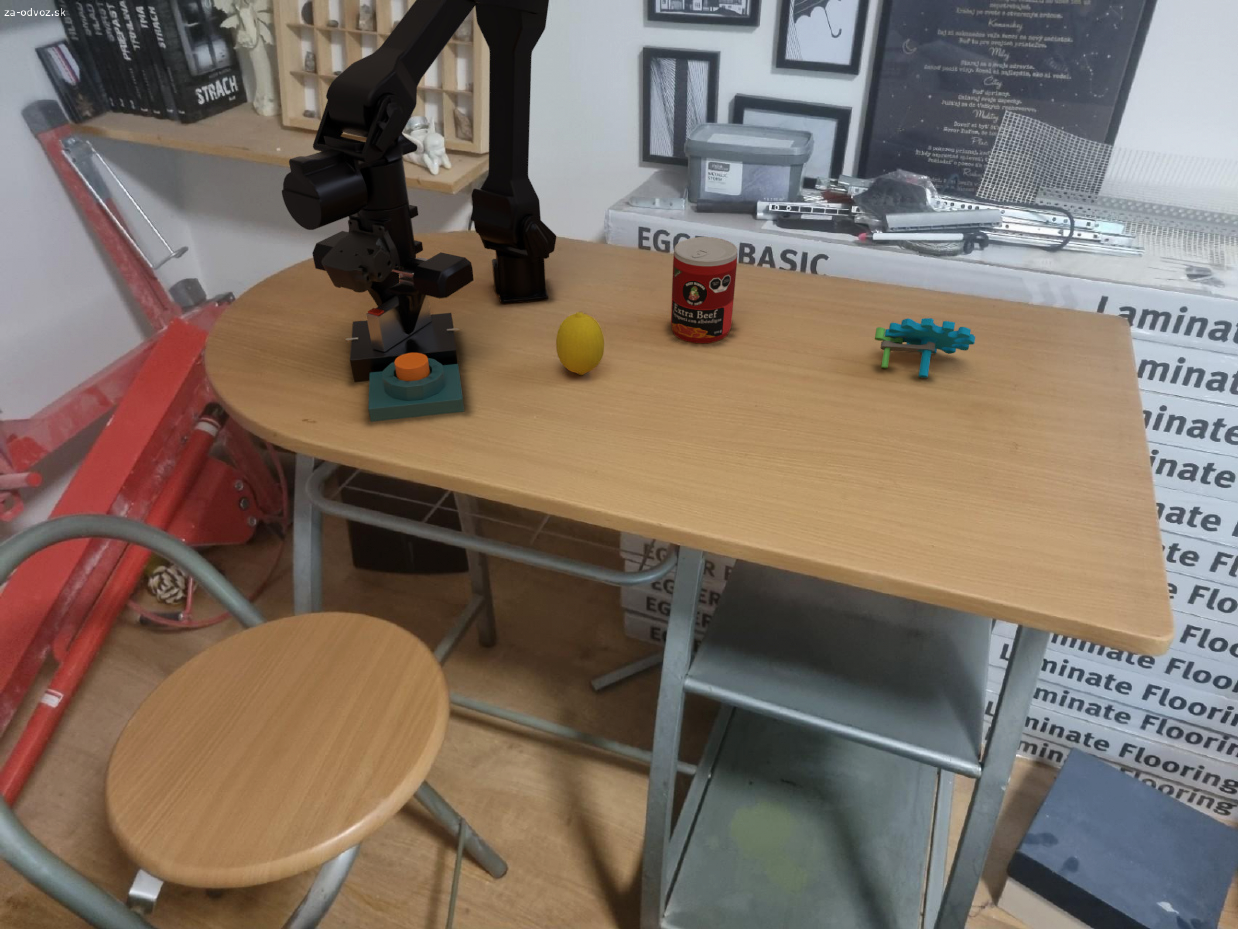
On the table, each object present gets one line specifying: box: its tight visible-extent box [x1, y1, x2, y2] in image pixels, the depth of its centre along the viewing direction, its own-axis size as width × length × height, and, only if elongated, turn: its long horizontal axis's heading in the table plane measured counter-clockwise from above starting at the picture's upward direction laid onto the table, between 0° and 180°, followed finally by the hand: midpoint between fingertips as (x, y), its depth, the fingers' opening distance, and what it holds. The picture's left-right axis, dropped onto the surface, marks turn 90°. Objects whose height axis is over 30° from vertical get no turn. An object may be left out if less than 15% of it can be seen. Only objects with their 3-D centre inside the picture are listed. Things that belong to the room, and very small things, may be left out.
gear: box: [874, 317, 976, 379], centre depth 102 cm, size 11×6×10 cm
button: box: [394, 353, 430, 381], centre depth 96 cm, size 4×4×2 cm
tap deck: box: [345, 312, 460, 383], centre depth 105 cm, size 13×13×3 cm
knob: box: [365, 295, 432, 352], centre depth 103 cm, size 9×2×5 cm, turn 153°
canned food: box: [670, 236, 739, 344], centre depth 109 cm, size 8×8×11 cm
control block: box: [367, 358, 465, 423], centre depth 97 cm, size 10×8×4 cm
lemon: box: [555, 311, 605, 376], centre depth 100 cm, size 6×6×8 cm
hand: (402, 331), depth 104 cm, fingers closed on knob, 2 cm apart
